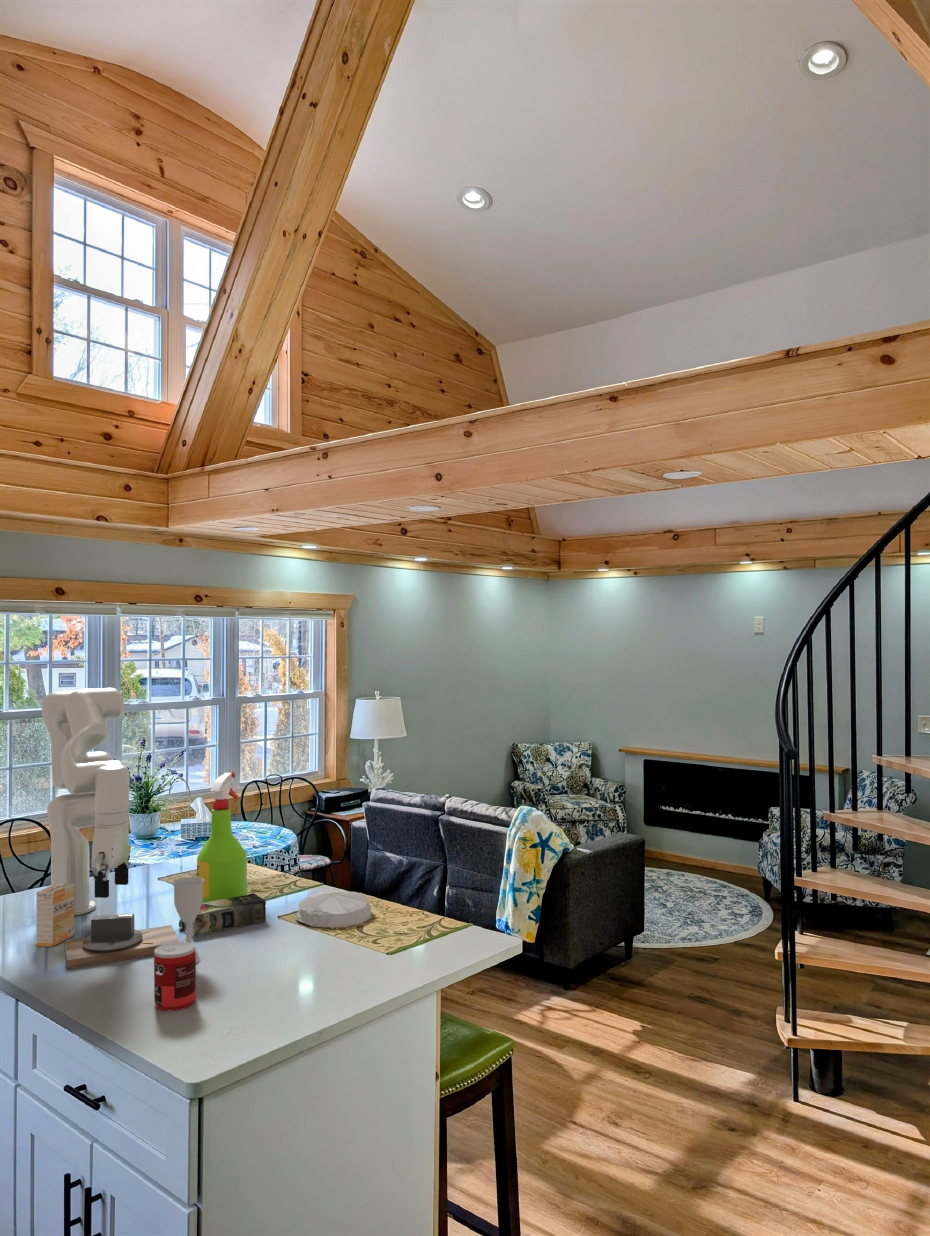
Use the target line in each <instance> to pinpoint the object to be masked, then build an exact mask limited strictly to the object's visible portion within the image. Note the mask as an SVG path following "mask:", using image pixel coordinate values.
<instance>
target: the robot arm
mask: <svg viewBox="0 0 930 1236" xmlns="http://www.w3.org/2000/svg"><path fill="white" fill-rule="evenodd" d="M124 711H125V701H124V698H123V696H122V694H121V692H120V691H119V689H117V688H115V687H104V688H103V687H102V688H100V687H98V688H81V689H75V690H61V691H59V690H58V691H55V692H50V693H48V694H46V695H45V697H44V698H43V699H42V703H41V714H42V719H43V720H42V721H43V722H44V726H45V728H46V730H47V732H48V736H49V739H50V754H51V755H50V757H51V759H50V760H51V762H50V764H51V777H52V783H53V785H54V787H56V788H57V789H60V790H66V791H67V792H68V793H67V794H62V795H58V796H55V797H53V798H52V799H51V800H50V801H49V803H48V805H47V810H46V814H47V815H46V816H47V820H48V827H49V832H50V833H49V834H50V865H51V866H50V876H51V877H50V881H51V882H50V887H51V886H53V885H56V884H58V883H70V884H74V917H76V916H81V915H85V914H87V913H90V912H93V910H95V909H96V902H95V901H94V900H90V898H91V897H90V843H89V841H88V839H87V838H86V837H85V836H84V835H83V833H81V831H80V829H84V828H90V827H94V829H93V830H94V832H93V835H92V836H93V837H92V847H91V871H92V873H91V875H92V877H93V882H94V897H95V898H99V899H101V898H103V899H105V898H107V899H108V898H109V897H110V880H109V879H108V877H109V876H110V871H111V870H114V885H116V886H122V885H123V886H128V885H129V867H130V862H129V861H130V859H131V849H132V846H131V845H130V831H129V824H130V770H129V767H127V765H126V764H125V763H124V762H123V761H121V760H119V759H113V757H112V755H111V754H110V753H108V752H106V751H93V750H95V749H96V748H99V747H100V746H102V745H103V744H104V743H105V742H106V740H108V737H109V733H110V731H109V728H108V724H107V722H106V721H107V720H118V719H119V718H121V717H122V715H123V714H124ZM103 872H104V873H103Z"/></svg>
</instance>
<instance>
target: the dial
mask: <svg viewBox="0 0 930 1236" xmlns="http://www.w3.org/2000/svg"><path fill="white" fill-rule="evenodd" d="M138 930H139V929H135V913H125V914H124V913H122V914H106V915H105V914H104V915H94V916H93V917H92V918H91V919H90V935H89V936H87V937H85V938H86V939H84V941H83V948H84V949H85V950H87V951H90V952H112V951H118V950H123V949H127V948H130V947H132V946H135V945H137V944H138V943H140V942H141V941H142V932H140V931H138Z"/></svg>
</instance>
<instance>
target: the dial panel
mask: <svg viewBox="0 0 930 1236" xmlns="http://www.w3.org/2000/svg"><path fill="white" fill-rule="evenodd" d="M137 930H138V931H140V932H142V941H141V942H140V943H138V944H137V945H135V946H132V947H130V948H127V949H123V950H118V951H112V952H90V951H87V950H85V949H84V948H83V941H84V939H86V938H87V937H85V938H78V939H72V940H66V941H65V959H66V970H69V969H70V970H71V969H76V968H77V969H78V968H83V967H89V966H95V965H100V964H107V963H112V962H113V963H114V962H120V961H126V960H131V959H137V958H144V957H148V956H149V955H150V956H154V950H155V949H156V948H157V947H159V946H161V945H164V944H167V943H173V942H180V941H179V939H178V936H177V935H176V932H175V929H174V928H173V925H170V924H169V925H164V926H156V927H151V928H150V927H149V928H144V929H137ZM143 956H144V957H143ZM150 956H149V957H150Z"/></svg>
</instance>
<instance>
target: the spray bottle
mask: <svg viewBox="0 0 930 1236" xmlns="http://www.w3.org/2000/svg"><path fill="white" fill-rule="evenodd" d="M235 778H236V773H235V772H234V771H231V770H230V771H227V772H224V773H223V774H222V775H220V776H218V777H217V778H216V779H215V780H214V782H213V784H212V786H211V788H210V791H209V792H211V793H213V806H212V807H213V808H212V809H211V818H210V819H211V820H210V821H211V824H210V825H211V828H210V829H211V830H210V835H211V836H210V837H209V838H208V839H207V841H206V842H205V843H204V844H203V845H202V848H201V850H200V851H199V853H198V855H197V857H196V877H199V878H203V879H204V882H203V884H202V903H206V902H210V901H216V900H221V899H227V898H232V897H238V896H244V895H248V867H247V866H248V858H247V857H248V855H247V852H246V851H245V848H244V847H243V845H242V844H241V843H240V841H239V840H238V839H237V838H236V837H235V836H234V835H233V833H232V815H231V814H232V813H231V811H232V810H231V807H229V800H228V799H227V798H228V797H229V796H230V797H231V798H233V799H238V800H239V799H240V796H239V795H238V794H237V792H236V791H234V790H233V783H234V779H235Z"/></svg>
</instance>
